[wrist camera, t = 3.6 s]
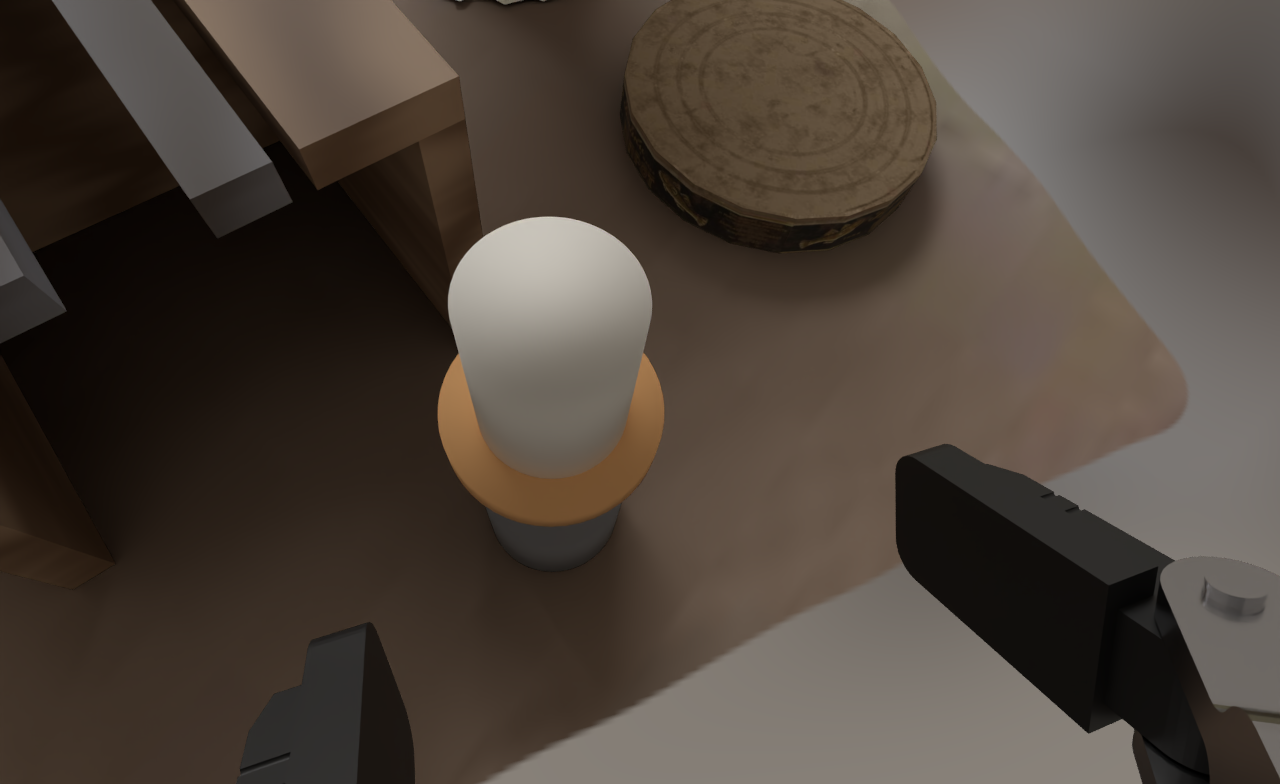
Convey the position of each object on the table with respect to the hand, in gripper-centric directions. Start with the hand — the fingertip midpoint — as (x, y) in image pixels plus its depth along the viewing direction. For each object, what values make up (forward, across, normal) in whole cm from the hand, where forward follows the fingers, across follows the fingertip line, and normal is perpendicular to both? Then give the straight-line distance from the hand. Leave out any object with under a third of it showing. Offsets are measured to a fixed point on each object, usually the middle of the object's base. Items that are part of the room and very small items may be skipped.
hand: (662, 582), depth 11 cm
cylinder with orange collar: (+17, 0, +8) cm, 19 cm away
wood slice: (+29, -17, -3) cm, 33 cm away
